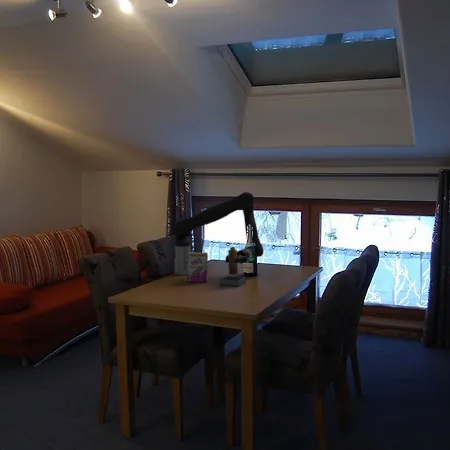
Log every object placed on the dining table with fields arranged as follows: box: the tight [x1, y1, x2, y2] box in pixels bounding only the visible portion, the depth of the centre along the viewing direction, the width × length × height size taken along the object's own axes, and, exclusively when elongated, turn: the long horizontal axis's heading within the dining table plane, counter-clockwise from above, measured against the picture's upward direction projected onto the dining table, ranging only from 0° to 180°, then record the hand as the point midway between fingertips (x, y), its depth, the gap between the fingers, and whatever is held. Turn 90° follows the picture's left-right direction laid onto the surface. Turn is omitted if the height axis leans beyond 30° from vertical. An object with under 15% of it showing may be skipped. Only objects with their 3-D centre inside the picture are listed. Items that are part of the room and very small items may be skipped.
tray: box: [219, 275, 247, 287], centre depth 286 cm, size 11×10×3 cm
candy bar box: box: [187, 251, 209, 283], centre depth 293 cm, size 11×5×16 cm, turn 84°
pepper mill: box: [227, 246, 239, 276], centre depth 285 cm, size 5×5×15 cm
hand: (230, 261), depth 283 cm, fingers closed on pepper mill, 4 cm apart
